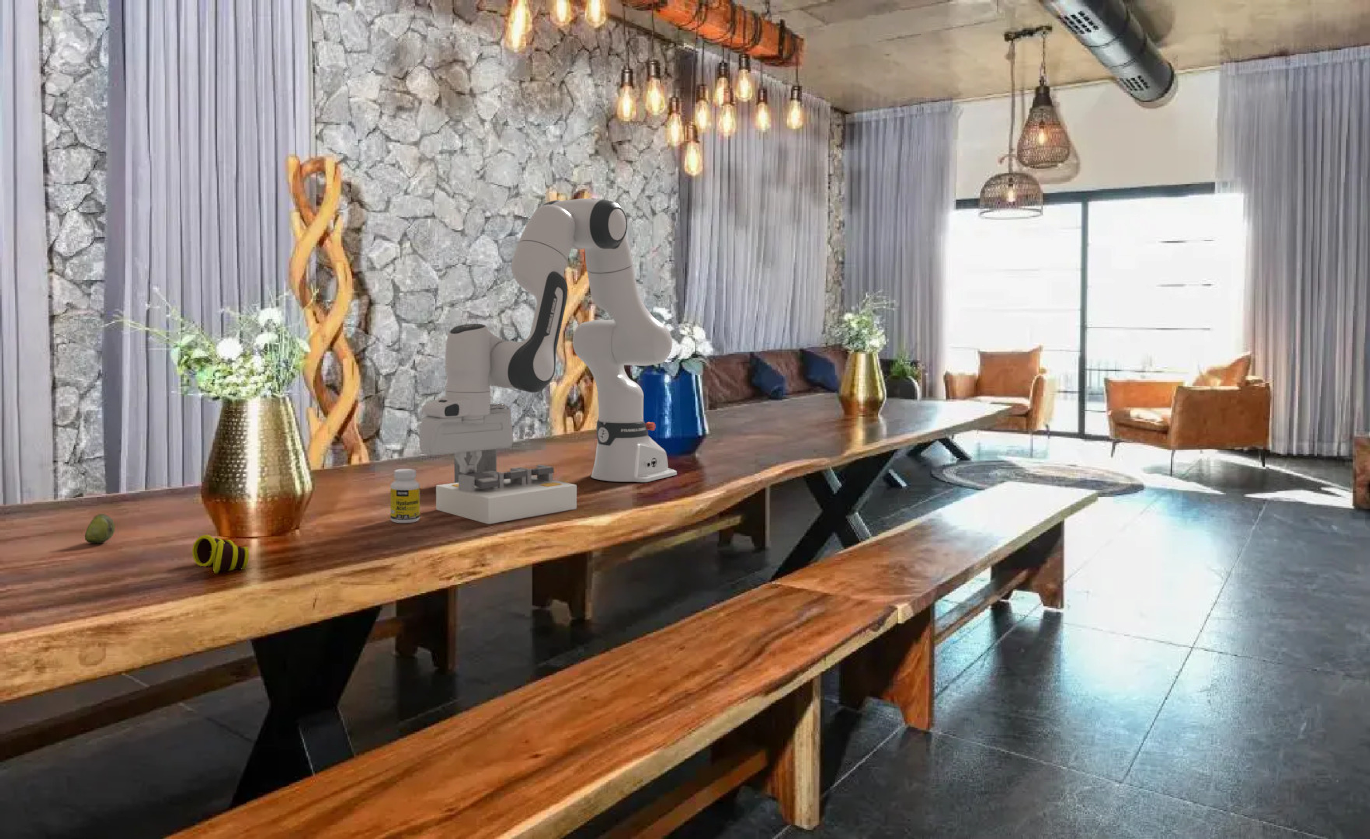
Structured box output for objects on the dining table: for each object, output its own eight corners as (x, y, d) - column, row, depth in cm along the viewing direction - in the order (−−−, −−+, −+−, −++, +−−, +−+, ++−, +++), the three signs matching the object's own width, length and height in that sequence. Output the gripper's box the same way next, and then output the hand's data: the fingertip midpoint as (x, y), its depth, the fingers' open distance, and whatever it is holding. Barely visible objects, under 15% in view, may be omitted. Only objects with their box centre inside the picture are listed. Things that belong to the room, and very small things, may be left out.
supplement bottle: (393, 524, 180) (393, 473, 179) (388, 519, 184) (387, 469, 183) (422, 522, 182) (422, 471, 181) (416, 516, 187) (416, 467, 186)
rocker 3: (530, 474, 204) (529, 468, 204) (553, 473, 199) (553, 466, 199) (515, 476, 201) (514, 470, 201) (538, 475, 196) (538, 468, 196)
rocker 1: (475, 476, 194) (475, 469, 194) (498, 486, 189) (498, 479, 189) (458, 478, 191) (458, 471, 191) (481, 488, 186) (482, 481, 186)
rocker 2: (503, 478, 199) (503, 471, 199) (527, 476, 194) (526, 469, 194) (487, 480, 196) (487, 473, 196) (511, 478, 191) (510, 471, 191)
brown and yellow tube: (249, 576, 146) (255, 544, 147) (214, 576, 143) (220, 543, 143) (223, 564, 153) (228, 533, 153) (189, 563, 149) (194, 532, 149)
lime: (86, 547, 158) (84, 518, 157) (83, 541, 162) (82, 512, 161) (117, 544, 161) (115, 515, 160) (114, 538, 164) (112, 510, 164)
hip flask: (499, 491, 215) (499, 403, 213) (483, 493, 212) (483, 404, 210) (464, 481, 227) (463, 398, 224) (448, 483, 224) (448, 398, 222)
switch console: (523, 496, 210) (523, 460, 209) (576, 508, 198) (576, 470, 197) (436, 509, 194) (435, 470, 193) (488, 524, 182) (488, 482, 181)
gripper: (501, 401, 200) (501, 466, 202) (414, 406, 185) (415, 476, 187) (519, 404, 196) (519, 470, 197) (432, 409, 181) (433, 481, 183)
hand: (468, 473), depth 192 cm, fingers closed, pressing on rocker 1
